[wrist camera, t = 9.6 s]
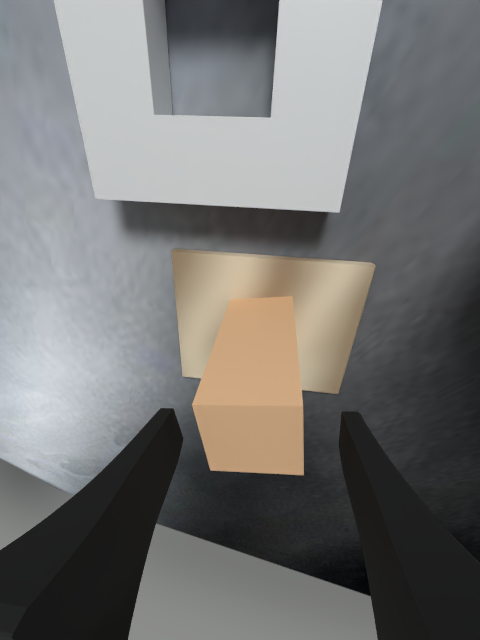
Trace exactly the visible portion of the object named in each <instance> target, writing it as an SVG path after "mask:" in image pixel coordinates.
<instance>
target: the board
mask: <svg viewBox="0 0 480 640" xmlns="http://www.w3.org/2000/svg"><path fill="white" fill-rule="evenodd" d="M171 253H172V263H173V274H174V285H175V296H176V307H177V318H178V329H179V340H180V351H181V362H182V373H183V376H184V377H192V378H201V379H202V376H203V373H204V370H205V368H206V365H207V362H208V359H209V357H210V354H211V351H212V348H213V345H214V343H215V340H216V337H217V334H218V332H219V329H220V326H221V323H222V320H223V318H224V315H225V312H226V309H227V307H228V304H229V301H230V300H233V299H251V298H269V297H287V296H293V306H294V316H295V327H296V337H297V348H298V358H299V369H300V379H301V389H302V390H307V391H315V392H324V393H333V394H338V393H339V389H340V386H341V382H342V379H343V376H344V372H345V369H346V365H347V362H348V359H349V355H350V352H351V348H352V345H353V342H354V338H355V335H356V331H357V328H358V324H359V321H360V318H361V314H362V311H363V307H364V304H365V301H366V297H367V294H368V290H369V287H370V284H371V280H372V277H373V273H374V270H375V267H376V266H375V265H374V264H373V263H369V262H355V261H341V260H327V259H313V258H299V257H285V256H271V255H257V254H242V253H228V252H214V251H200V250H186V249H174V250H172V251H171Z"/></svg>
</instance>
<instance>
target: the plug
mask: <svg viewBox="0 0 480 640" xmlns="http://www.w3.org/2000/svg"><path fill="white" fill-rule="evenodd" d="M192 406H193V410H194V414H195V417H196V421H197V424H198V428H199V431H200V435H201V438H202V442H203V446H204V449H205V453H206V456H207V460H208V463H209V467H210V470H211V471H230V472H250V473H270V474H290V475H304V444H303V400H302V389H301V379H300V369H299V358H298V348H297V337H296V327H295V316H294V306H293V296H287V297H269V298H251V299H233V300H230V301H229V304H228V307H227V309H226V312H225V315H224V318H223V320H222V323H221V326H220V329H219V332H218V334H217V337H216V340H215V343H214V345H213V348H212V351H211V354H210V357H209V359H208V362H207V365H206V368H205V370H204V373H203V376H202V379H201V382H200V384H199V387H198V390H197V393H196V395H195V398H194V401H193V404H192Z"/></svg>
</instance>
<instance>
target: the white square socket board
mask: <svg viewBox="0 0 480 640" xmlns="http://www.w3.org/2000/svg"><path fill="white" fill-rule="evenodd" d="M54 4H55V8H56V13H57V18H58V23H59V27H60V32H61V37H62V42H63V46H64V51H65V56H66V61H67V65H68V70H69V75H70V80H71V84H72V89H73V94H74V99H75V103H76V108H77V113H78V118H79V122H80V127H81V132H82V137H83V141H84V146H85V151H86V156H87V160H88V165H89V170H90V175H91V179H92V184H93V189H94V194H95V198H96V199H106V200H124V201H142V202H160V203H178V204H196V205H213V206H231V207H249V208H267V209H285V210H303V211H321V212H339V211H340V207H341V202H342V197H343V192H344V187H345V182H346V177H347V172H348V167H349V162H350V157H351V153H352V148H353V143H354V138H355V133H356V128H357V123H358V118H359V113H360V108H361V104H362V99H363V94H364V89H365V84H366V79H367V74H368V69H369V64H370V59H371V54H372V50H373V45H374V40H375V35H376V30H377V25H378V20H379V15H380V10H381V5H382V0H279V13H278V27H277V40H276V54H275V67H274V81H273V94H272V108H271V118H260V117H222V116H184V115H173V109H172V95H171V81H170V67H169V53H168V39H167V24H166V10H165V0H54Z"/></svg>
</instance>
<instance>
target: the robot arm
mask: <svg viewBox="0 0 480 640" xmlns="http://www.w3.org/2000/svg"><path fill="white" fill-rule="evenodd" d="M182 442H183V436H182V433H181V430H180V427H179V424H178V421H177V418H176V415H175V412H174V409H172V408H161V409H160V410H159V411H158V412H157V413H156V414H155V415H154V416H153V417H152V418H151V420H150V421H149V422H148V423H147V424H146V425H145V426H144V427H143V429H142V430H141V431H140V432H139V433H138V434H137V435H136V436H135V437H134V438H133V440H132V441H131V442H130V443H129V444H128V445H127V446H126V447H125V448H124V449H123V450H122V451H121V452H120V453H119V454H118V455H117V456H116V457H115V458H114V459H113V460H112V461H111V462H110V463H109V464H108V465H107V466H106V467H105V468H104V469H103V470H102V471H101V472H100V473H99V474H98V475H97V476H96V477H95V478H94V479H93V480H92V481H91V482H89V483H88V484H87V485H86V486H85V487H84V488H83V489H82V490H80V491H79V492H78V493H77V494H76V495H75V496H73V497H72V498H71V499H70V500H68V501H67V502H66V503H65V504H63V505H62V506H61V507H60V508H58V509H57V510H56V511H55V512H53V513H52V514H51V515H50V516H48V517H47V518H46V519H44V520H43V521H42V522H40V523H39V524H37V525H36V526H35V527H33V528H32V529H31V530H29V531H28V532H26V533H25V534H24V535H22V536H21V537H19V538H18V539H16V540H15V541H13V542H12V543H10V544H9V545H7V546H6V547H4V548H3V549H1V550H0V640H128V636H129V630H130V626H131V620H132V616H133V612H134V608H135V603H136V599H137V594H138V590H139V585H140V582H141V577H142V574H143V569H144V565H145V561H146V557H147V554H148V550H149V546H150V543H151V539H152V535H153V531H154V528H155V525H156V522H157V519H158V516H159V513H160V510H161V507H162V505H163V502H164V499H165V497H166V494H167V491H168V488H169V486H170V483H171V480H172V477H173V474H174V472H175V469H176V466H177V463H178V459H179V455H180V451H181V447H182ZM339 449H340V456H341V462H342V469H343V474H344V477H345V481H346V485H347V489H348V493H349V497H350V501H351V505H352V508H353V512H354V516H355V520H356V524H357V528H358V531H359V535H360V540H361V544H362V549H363V554H364V560H365V565H366V571H367V577H368V582H369V588H370V594H371V600H372V606H373V612H374V618H375V624H376V630H377V637H378V640H480V563H479V562H478V561H477V560H476V559H475V558H474V557H473V556H472V555H471V554H470V553H469V552H468V551H467V550H466V549H465V548H464V547H463V546H462V545H461V544H460V543H459V542H458V540H457V539H456V538H455V537H454V536H453V535H452V534H451V533H450V532H449V531H448V530H447V529H446V528H445V526H444V525H443V524H442V523H441V522H440V521H439V520H438V519H437V518H436V516H435V515H434V514H433V513H432V512H431V511H430V510H429V509H428V507H427V506H426V505H425V504H424V503H423V502H422V500H421V499H420V498H419V497H418V496H417V494H416V493H415V492H414V491H413V489H412V488H411V487H410V486H409V484H408V483H407V482H406V481H405V479H404V478H403V477H402V475H401V474H400V473H399V471H398V470H397V469H396V467H395V466H394V465H393V463H392V462H391V461H390V459H389V458H388V456H387V455H386V454H385V452H384V451H383V449H382V448H381V446H380V445H379V444H378V442H377V440H376V439H375V437H374V436H373V434H372V433H371V431H370V430H369V428H368V426H367V425H366V423H365V421H364V420H363V418H362V416H361V414H360V413H358V412H342V415H341V426H340V437H339Z"/></svg>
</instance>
